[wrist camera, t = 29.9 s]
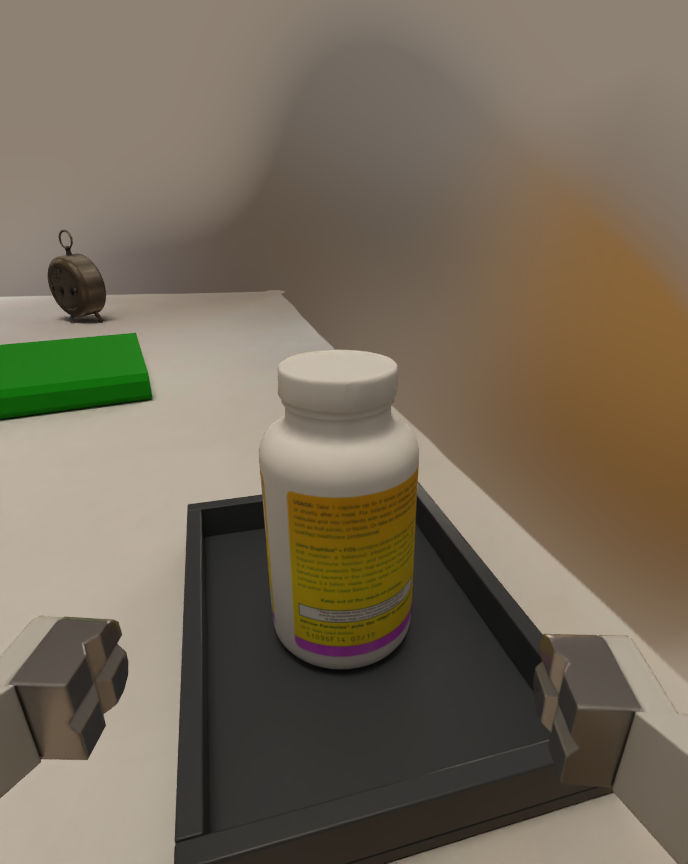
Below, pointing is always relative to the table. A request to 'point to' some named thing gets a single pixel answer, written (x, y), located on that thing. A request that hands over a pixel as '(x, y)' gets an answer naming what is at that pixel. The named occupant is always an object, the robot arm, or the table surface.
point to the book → (71, 374)
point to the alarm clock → (76, 284)
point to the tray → (353, 712)
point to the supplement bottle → (339, 509)
